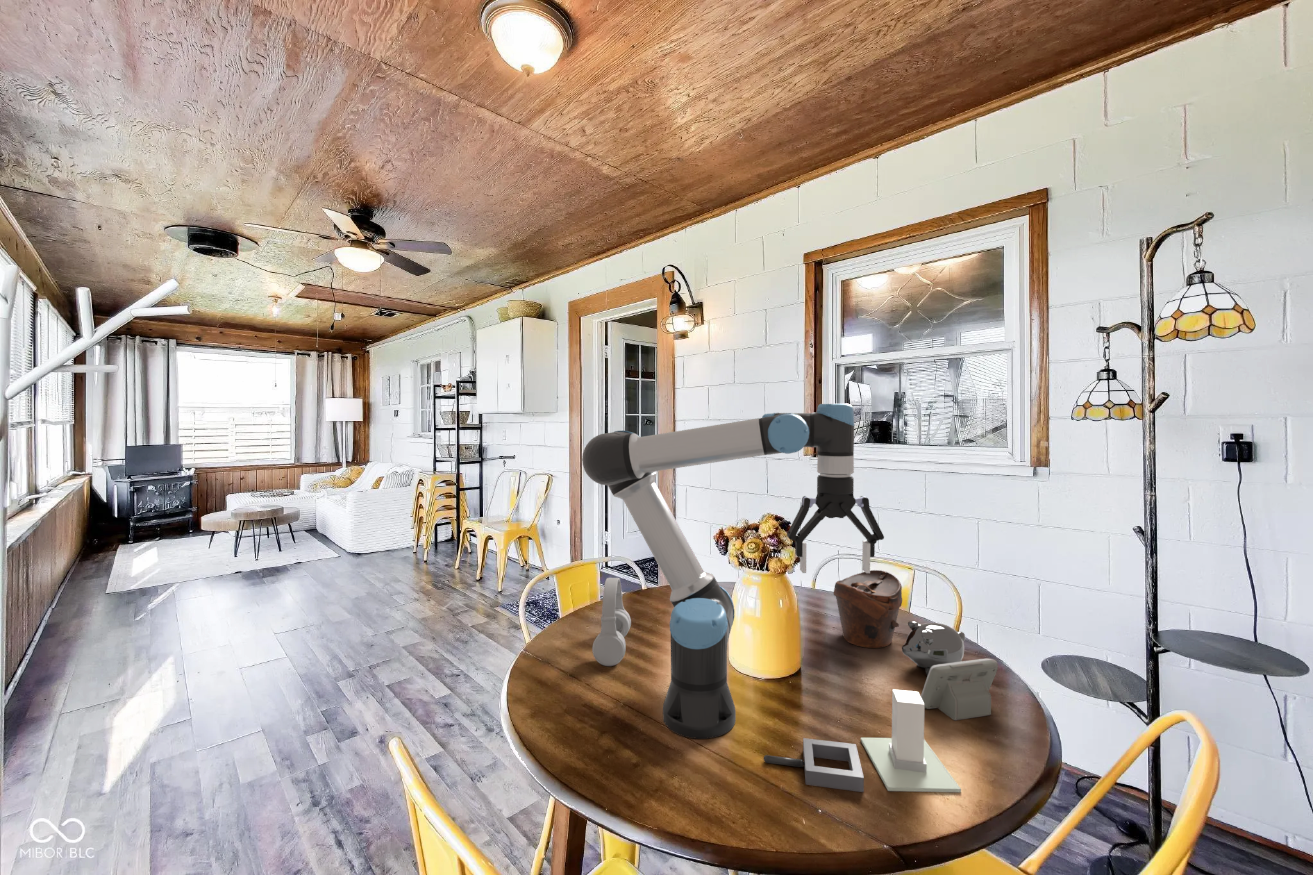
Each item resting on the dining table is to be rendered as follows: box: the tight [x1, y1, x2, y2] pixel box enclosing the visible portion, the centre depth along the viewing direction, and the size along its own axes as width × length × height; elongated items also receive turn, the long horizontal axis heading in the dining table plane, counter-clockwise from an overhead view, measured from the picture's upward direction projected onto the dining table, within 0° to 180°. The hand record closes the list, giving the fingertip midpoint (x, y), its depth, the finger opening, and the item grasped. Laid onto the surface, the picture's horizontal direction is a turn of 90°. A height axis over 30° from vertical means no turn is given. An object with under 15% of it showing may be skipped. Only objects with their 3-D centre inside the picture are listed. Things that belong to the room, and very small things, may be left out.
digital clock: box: [920, 658, 999, 721], centre depth 117 cm, size 16×9×11 cm, turn 91°
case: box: [833, 569, 903, 649], centre depth 152 cm, size 18×20×18 cm
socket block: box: [763, 737, 865, 793], centre depth 98 cm, size 17×9×2 cm, turn 78°
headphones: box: [592, 577, 632, 667], centre depth 147 cm, size 20×8×19 cm, turn 178°
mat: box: [860, 737, 962, 793], centre depth 99 cm, size 12×14×1 cm
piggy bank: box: [901, 620, 966, 676], centre depth 133 cm, size 11×15×12 cm
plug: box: [889, 688, 927, 773], centre depth 98 cm, size 5×5×12 cm
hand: (834, 571), depth 119 cm, fingers open, 13 cm apart
